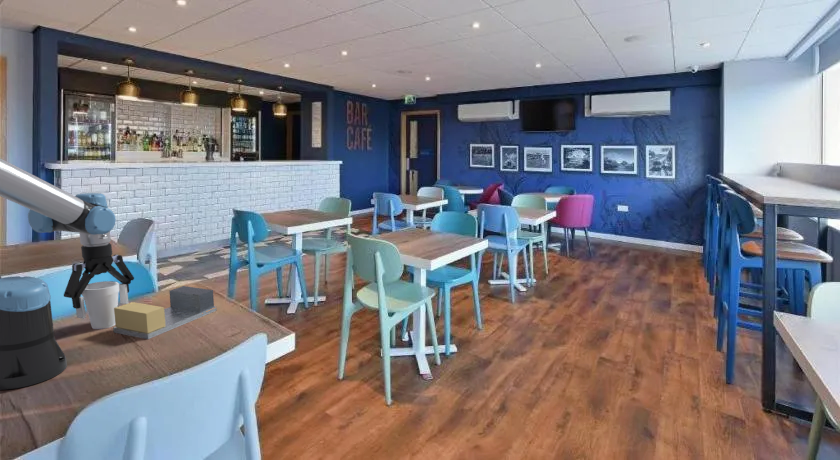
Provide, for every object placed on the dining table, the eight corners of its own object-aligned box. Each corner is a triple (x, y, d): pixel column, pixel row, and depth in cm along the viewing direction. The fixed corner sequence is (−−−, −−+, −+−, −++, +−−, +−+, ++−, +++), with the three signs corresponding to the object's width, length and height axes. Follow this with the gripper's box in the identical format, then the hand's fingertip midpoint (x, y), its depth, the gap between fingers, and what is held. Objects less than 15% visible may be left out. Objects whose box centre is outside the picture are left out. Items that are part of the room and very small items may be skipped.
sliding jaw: (147, 333, 130) (146, 313, 129) (115, 326, 134) (113, 308, 133) (165, 326, 135) (164, 307, 134) (134, 320, 140) (132, 302, 139)
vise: (148, 339, 129) (146, 314, 128) (113, 332, 134) (111, 308, 133) (216, 310, 154) (215, 289, 153) (185, 305, 159) (183, 285, 158)
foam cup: (108, 331, 135) (103, 290, 132) (77, 330, 135) (73, 289, 133) (128, 320, 144) (125, 281, 142) (100, 319, 144) (97, 280, 142)
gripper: (60, 253, 122) (70, 326, 126) (142, 237, 146) (148, 299, 149) (42, 251, 125) (52, 322, 128) (125, 235, 148) (132, 296, 152)
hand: (104, 310), depth 139 cm, fingers open, 13 cm apart
